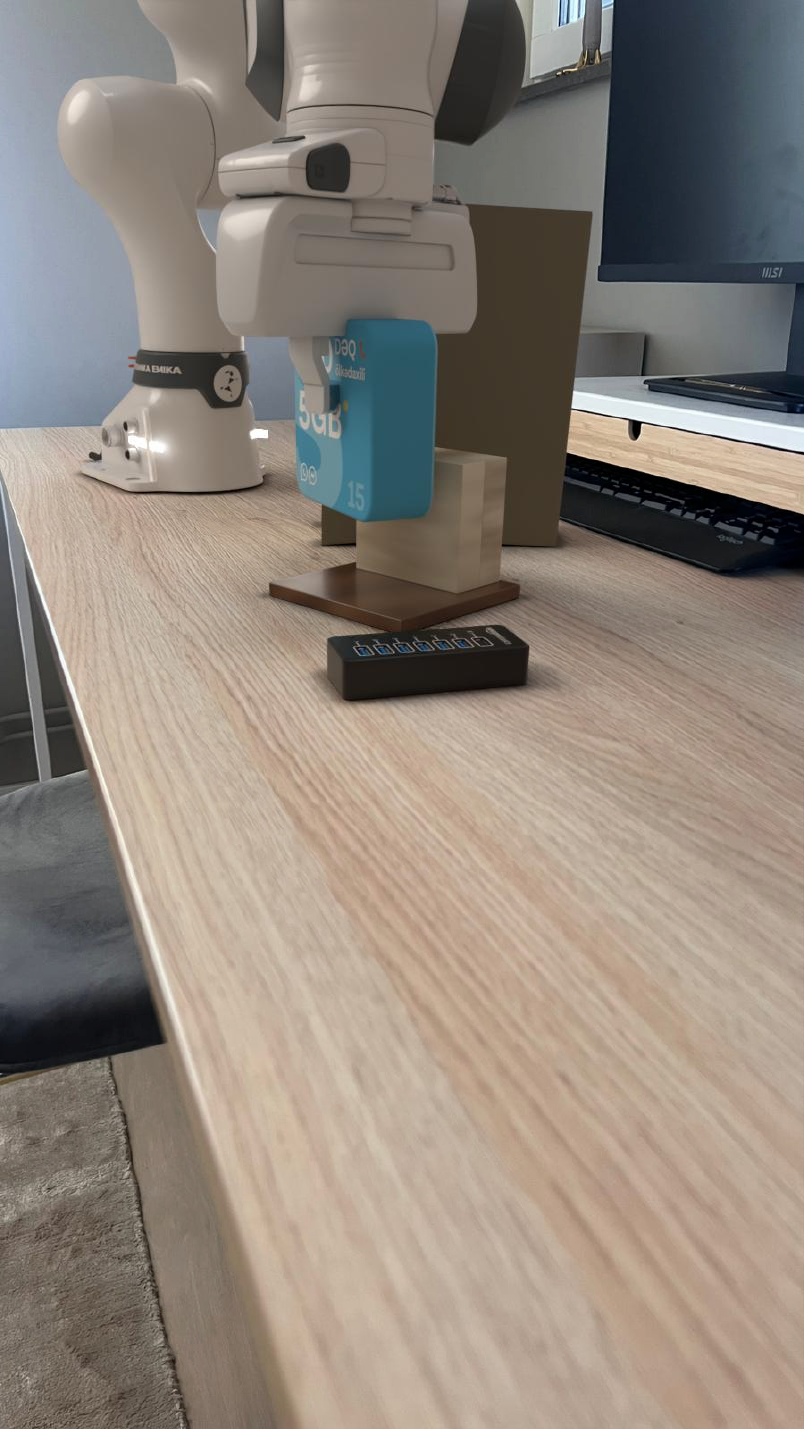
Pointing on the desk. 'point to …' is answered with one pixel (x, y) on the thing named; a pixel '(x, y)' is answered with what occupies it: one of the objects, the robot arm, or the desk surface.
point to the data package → (373, 423)
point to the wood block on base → (421, 555)
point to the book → (513, 364)
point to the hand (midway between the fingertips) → (359, 409)
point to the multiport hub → (426, 661)
